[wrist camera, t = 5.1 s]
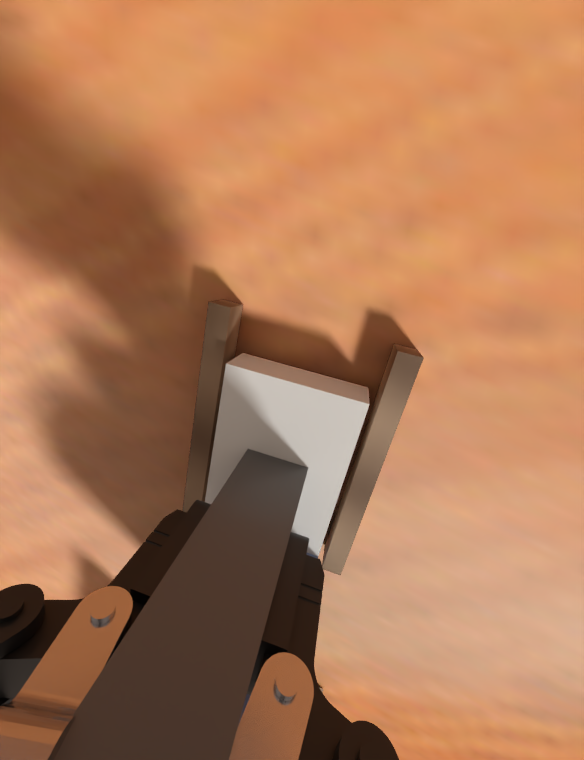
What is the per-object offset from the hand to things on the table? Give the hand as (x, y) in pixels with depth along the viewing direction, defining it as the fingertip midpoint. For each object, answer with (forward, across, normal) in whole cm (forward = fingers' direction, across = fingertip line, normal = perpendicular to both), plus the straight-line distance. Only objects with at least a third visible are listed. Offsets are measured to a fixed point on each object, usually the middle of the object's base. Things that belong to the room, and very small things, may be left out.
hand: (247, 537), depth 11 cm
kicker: (+6, 0, 0) cm, 6 cm away
